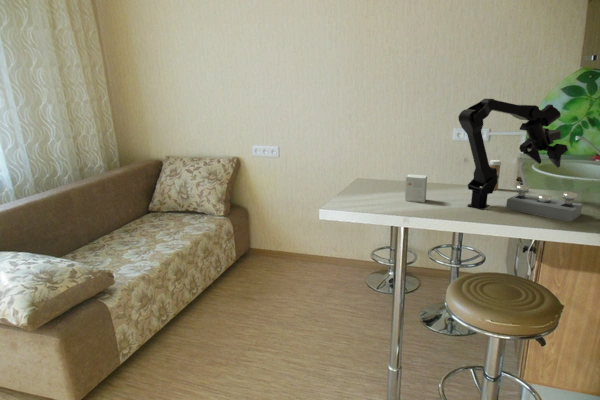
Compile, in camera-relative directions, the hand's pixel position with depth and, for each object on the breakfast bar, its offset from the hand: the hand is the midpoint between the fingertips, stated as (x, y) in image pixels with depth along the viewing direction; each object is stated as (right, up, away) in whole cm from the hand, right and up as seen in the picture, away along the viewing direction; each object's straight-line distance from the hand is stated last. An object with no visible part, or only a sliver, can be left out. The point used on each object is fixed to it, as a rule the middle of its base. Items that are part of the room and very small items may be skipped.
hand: (549, 165), depth 165 cm
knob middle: (-9, -17, -11) cm, 23 cm away
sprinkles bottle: (-12, -9, +23) cm, 28 cm away
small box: (-52, -14, +8) cm, 55 cm away
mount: (-9, -19, -11) cm, 24 cm away
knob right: (-4, -17, -18) cm, 24 cm away
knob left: (-15, -14, -6) cm, 21 cm away
